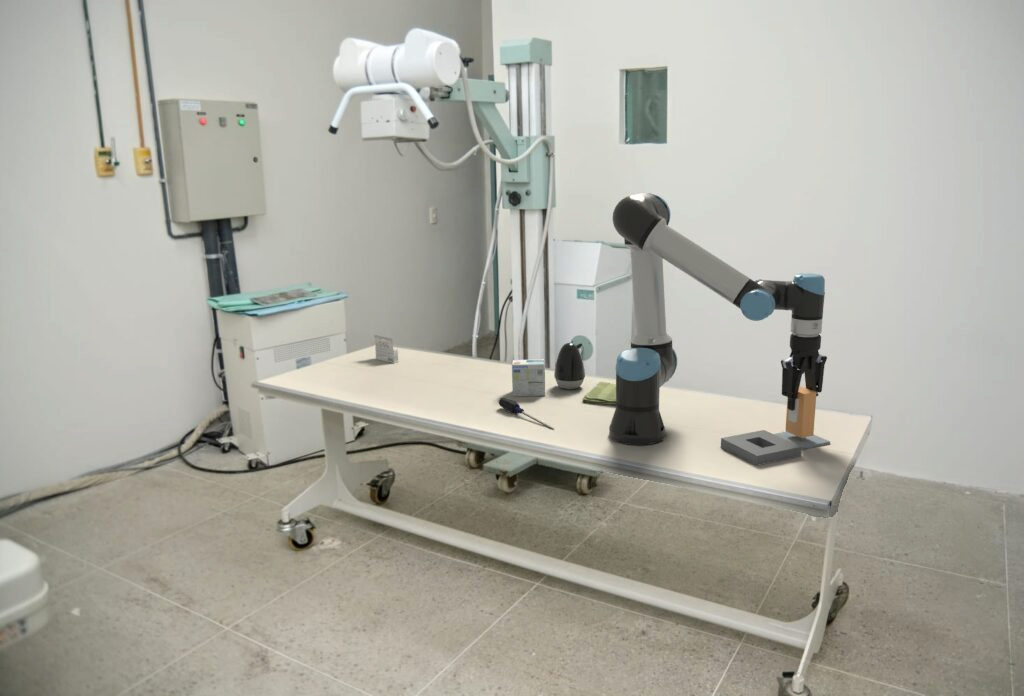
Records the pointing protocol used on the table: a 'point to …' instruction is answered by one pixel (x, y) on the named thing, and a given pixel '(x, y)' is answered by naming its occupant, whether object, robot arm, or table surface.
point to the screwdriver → (516, 409)
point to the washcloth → (602, 394)
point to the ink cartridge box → (385, 349)
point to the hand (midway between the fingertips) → (799, 419)
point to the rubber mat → (803, 440)
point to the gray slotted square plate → (750, 450)
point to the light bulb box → (528, 377)
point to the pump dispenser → (569, 367)
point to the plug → (803, 414)
